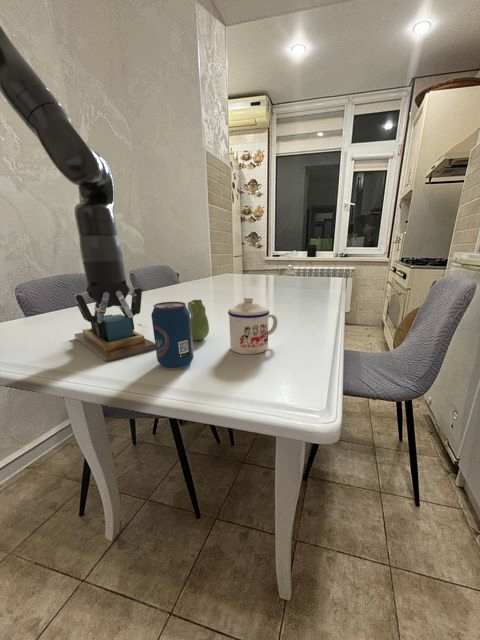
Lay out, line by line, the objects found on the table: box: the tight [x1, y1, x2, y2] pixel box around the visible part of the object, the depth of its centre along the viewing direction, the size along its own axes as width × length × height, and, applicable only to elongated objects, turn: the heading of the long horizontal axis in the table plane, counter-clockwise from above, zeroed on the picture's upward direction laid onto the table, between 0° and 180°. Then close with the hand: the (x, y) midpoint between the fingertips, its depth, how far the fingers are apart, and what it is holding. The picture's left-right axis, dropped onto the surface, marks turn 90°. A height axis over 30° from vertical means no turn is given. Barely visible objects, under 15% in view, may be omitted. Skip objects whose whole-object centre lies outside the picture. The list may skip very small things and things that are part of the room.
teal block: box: [103, 313, 134, 342], centre depth 66 cm, size 5×6×4 cm
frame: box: [74, 327, 156, 363], centre depth 69 cm, size 11×22×3 cm, turn 46°
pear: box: [187, 299, 210, 341], centre depth 71 cm, size 6×5×10 cm
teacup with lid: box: [227, 296, 279, 355], centre depth 65 cm, size 12×9×12 cm
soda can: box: [150, 301, 194, 371], centre depth 56 cm, size 7×7×12 cm
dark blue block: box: [90, 314, 113, 340], centre depth 71 cm, size 5×6×4 cm
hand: (117, 335), depth 67 cm, fingers closed on teal block, 5 cm apart
